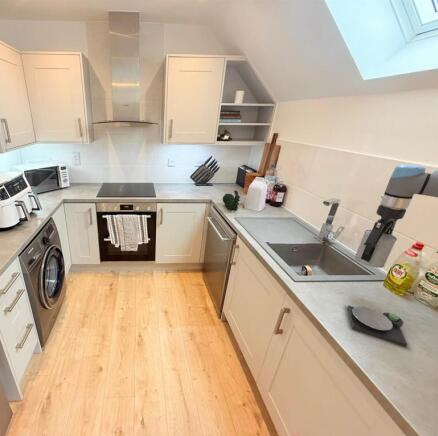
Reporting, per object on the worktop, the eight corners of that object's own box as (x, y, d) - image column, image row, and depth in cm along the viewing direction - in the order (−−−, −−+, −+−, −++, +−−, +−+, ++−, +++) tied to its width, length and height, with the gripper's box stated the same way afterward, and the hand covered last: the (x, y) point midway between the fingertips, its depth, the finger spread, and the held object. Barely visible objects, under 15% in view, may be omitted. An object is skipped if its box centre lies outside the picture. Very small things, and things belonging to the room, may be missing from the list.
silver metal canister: (389, 269, 93) (402, 242, 88) (360, 265, 96) (371, 238, 91) (377, 257, 102) (388, 231, 97) (350, 253, 104) (360, 228, 100)
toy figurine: (240, 215, 187) (229, 202, 209) (245, 193, 178) (233, 181, 199) (228, 215, 186) (218, 202, 208) (232, 193, 177) (222, 182, 199)
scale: (397, 322, 88) (400, 316, 87) (409, 348, 78) (413, 342, 77) (347, 306, 95) (349, 301, 94) (352, 329, 85) (355, 323, 84)
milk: (244, 207, 198) (249, 177, 188) (250, 204, 205) (255, 175, 195) (258, 211, 190) (264, 180, 179) (264, 208, 197) (270, 177, 187)
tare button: (396, 318, 87) (397, 315, 86) (398, 322, 85) (399, 320, 84) (386, 315, 88) (388, 312, 87) (388, 319, 86) (390, 317, 85)
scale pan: (387, 314, 88) (387, 313, 88) (396, 335, 79) (397, 334, 79) (350, 303, 93) (350, 302, 93) (355, 322, 84) (355, 321, 84)
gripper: (392, 199, 97) (372, 246, 106) (366, 208, 87) (346, 259, 96) (417, 204, 91) (394, 254, 100) (393, 215, 81) (369, 269, 90)
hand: (370, 256), depth 98 cm, fingers closed on silver metal canister, 9 cm apart
